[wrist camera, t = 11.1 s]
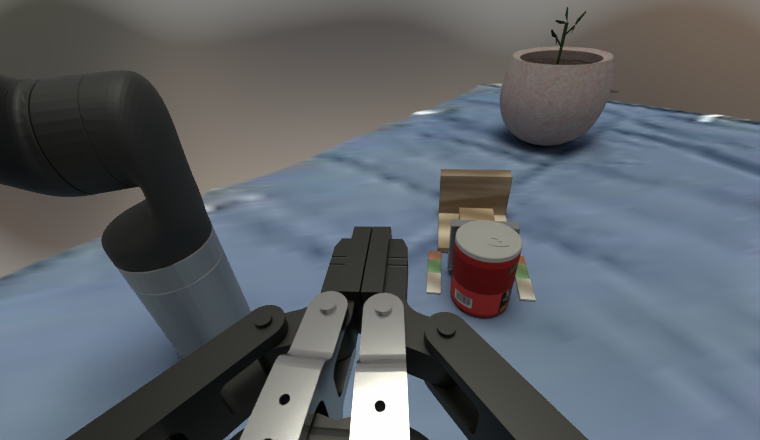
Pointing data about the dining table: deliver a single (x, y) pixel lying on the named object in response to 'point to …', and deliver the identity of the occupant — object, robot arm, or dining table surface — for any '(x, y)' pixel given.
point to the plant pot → (555, 91)
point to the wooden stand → (473, 216)
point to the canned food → (484, 267)
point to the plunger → (458, 223)
